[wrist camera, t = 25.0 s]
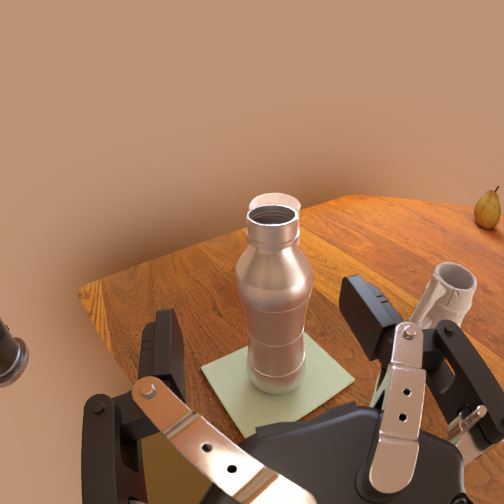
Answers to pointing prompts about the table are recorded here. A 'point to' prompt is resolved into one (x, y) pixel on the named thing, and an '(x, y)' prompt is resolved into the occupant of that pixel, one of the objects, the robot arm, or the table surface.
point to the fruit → (488, 210)
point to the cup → (277, 203)
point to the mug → (445, 296)
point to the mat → (269, 405)
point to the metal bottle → (274, 298)
